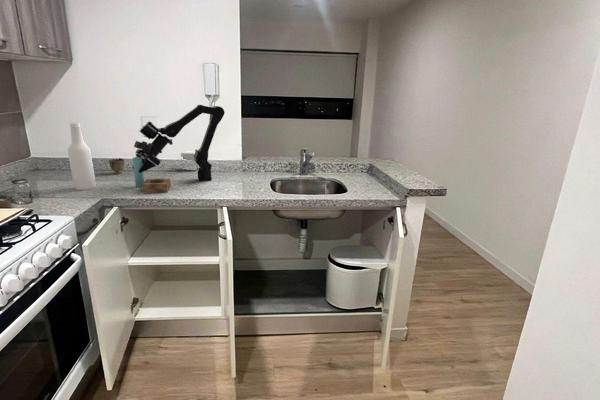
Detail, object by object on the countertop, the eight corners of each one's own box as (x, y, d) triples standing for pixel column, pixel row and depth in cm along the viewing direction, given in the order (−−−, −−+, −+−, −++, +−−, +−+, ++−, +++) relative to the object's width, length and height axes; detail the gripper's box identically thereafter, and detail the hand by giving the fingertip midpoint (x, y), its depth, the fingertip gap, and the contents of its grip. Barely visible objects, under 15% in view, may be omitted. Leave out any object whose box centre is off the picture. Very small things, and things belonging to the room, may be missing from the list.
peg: (145, 185, 170) (142, 156, 166) (143, 187, 166) (140, 158, 162) (137, 185, 169) (133, 156, 165) (135, 187, 166) (131, 158, 162)
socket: (170, 186, 169) (170, 178, 168) (167, 192, 159) (166, 183, 158) (147, 186, 167) (146, 178, 166) (142, 192, 157) (141, 184, 156)
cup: (108, 173, 191) (106, 159, 189) (122, 171, 197) (120, 157, 194) (113, 175, 187) (111, 161, 184) (127, 173, 192) (125, 159, 189)
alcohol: (100, 186, 166) (90, 122, 157) (88, 190, 158) (77, 124, 149) (82, 185, 167) (72, 121, 158) (69, 190, 158) (58, 123, 149)
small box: (198, 169, 208) (197, 151, 205) (195, 171, 203) (194, 153, 199) (186, 168, 209) (184, 151, 205) (182, 170, 203) (180, 152, 200)
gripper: (137, 132, 170) (116, 156, 166) (151, 136, 157) (127, 163, 153) (155, 147, 177) (135, 170, 174) (169, 152, 164) (147, 178, 160)
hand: (136, 170), depth 165 cm, fingers open, 9 cm apart
